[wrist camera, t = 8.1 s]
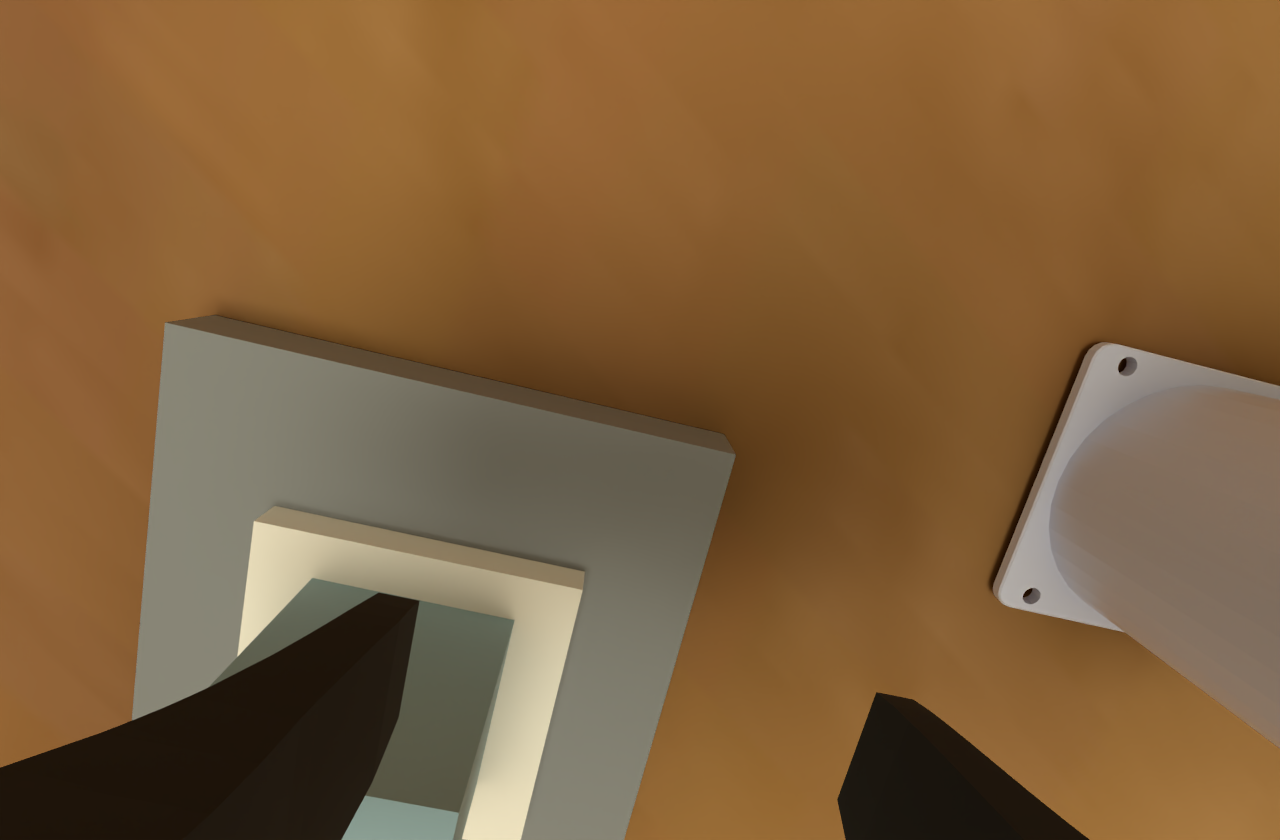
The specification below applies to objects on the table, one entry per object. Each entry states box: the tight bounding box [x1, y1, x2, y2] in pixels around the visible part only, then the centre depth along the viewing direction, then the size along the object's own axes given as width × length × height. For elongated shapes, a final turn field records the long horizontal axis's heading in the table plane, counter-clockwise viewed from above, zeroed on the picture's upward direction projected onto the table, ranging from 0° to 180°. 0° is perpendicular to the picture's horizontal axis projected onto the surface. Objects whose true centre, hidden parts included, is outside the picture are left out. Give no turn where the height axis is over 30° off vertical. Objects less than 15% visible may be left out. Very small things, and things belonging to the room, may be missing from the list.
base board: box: [132, 315, 736, 840], centre depth 19 cm, size 14×16×3 cm
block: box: [209, 578, 515, 840], centre depth 14 cm, size 5×5×6 cm
